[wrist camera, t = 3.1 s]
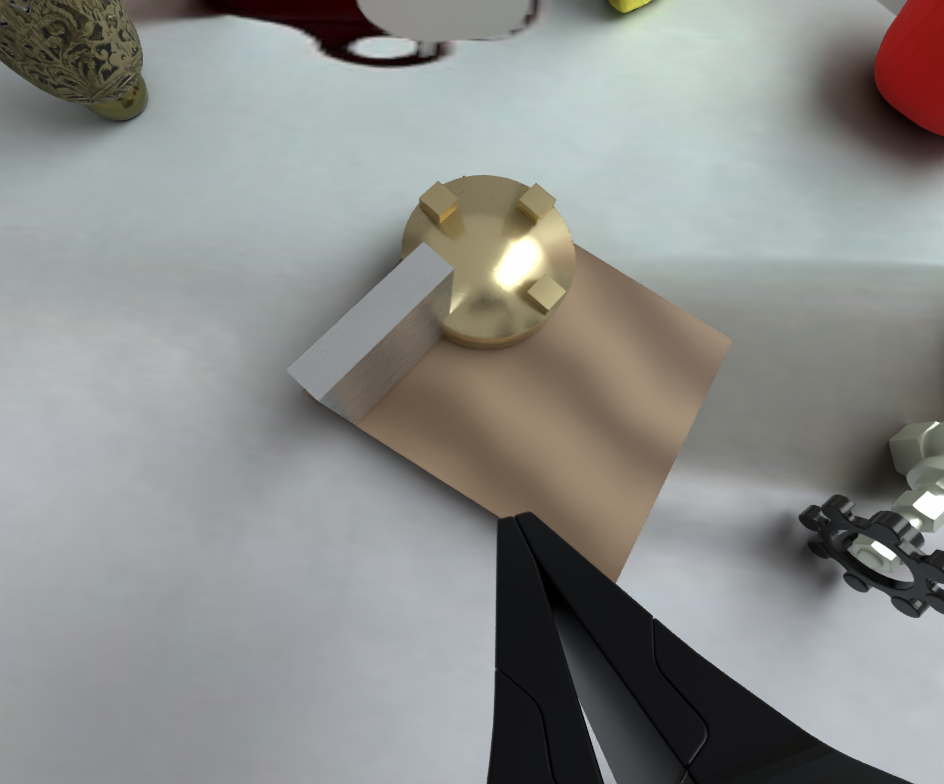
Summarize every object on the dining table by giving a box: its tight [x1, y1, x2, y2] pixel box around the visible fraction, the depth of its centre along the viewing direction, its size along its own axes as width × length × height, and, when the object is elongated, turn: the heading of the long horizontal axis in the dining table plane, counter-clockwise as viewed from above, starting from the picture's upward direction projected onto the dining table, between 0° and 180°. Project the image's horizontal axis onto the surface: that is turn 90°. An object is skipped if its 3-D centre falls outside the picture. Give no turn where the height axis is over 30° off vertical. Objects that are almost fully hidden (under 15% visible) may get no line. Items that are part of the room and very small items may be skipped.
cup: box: [0, 0, 148, 120], centre depth 21 cm, size 8×7×8 cm
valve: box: [799, 421, 944, 618], centre depth 22 cm, size 7×7×12 cm
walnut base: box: [302, 176, 733, 584], centre depth 23 cm, size 16×19×2 cm
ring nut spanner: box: [285, 175, 575, 425], centre depth 19 cm, size 16×9×7 cm, turn 138°
